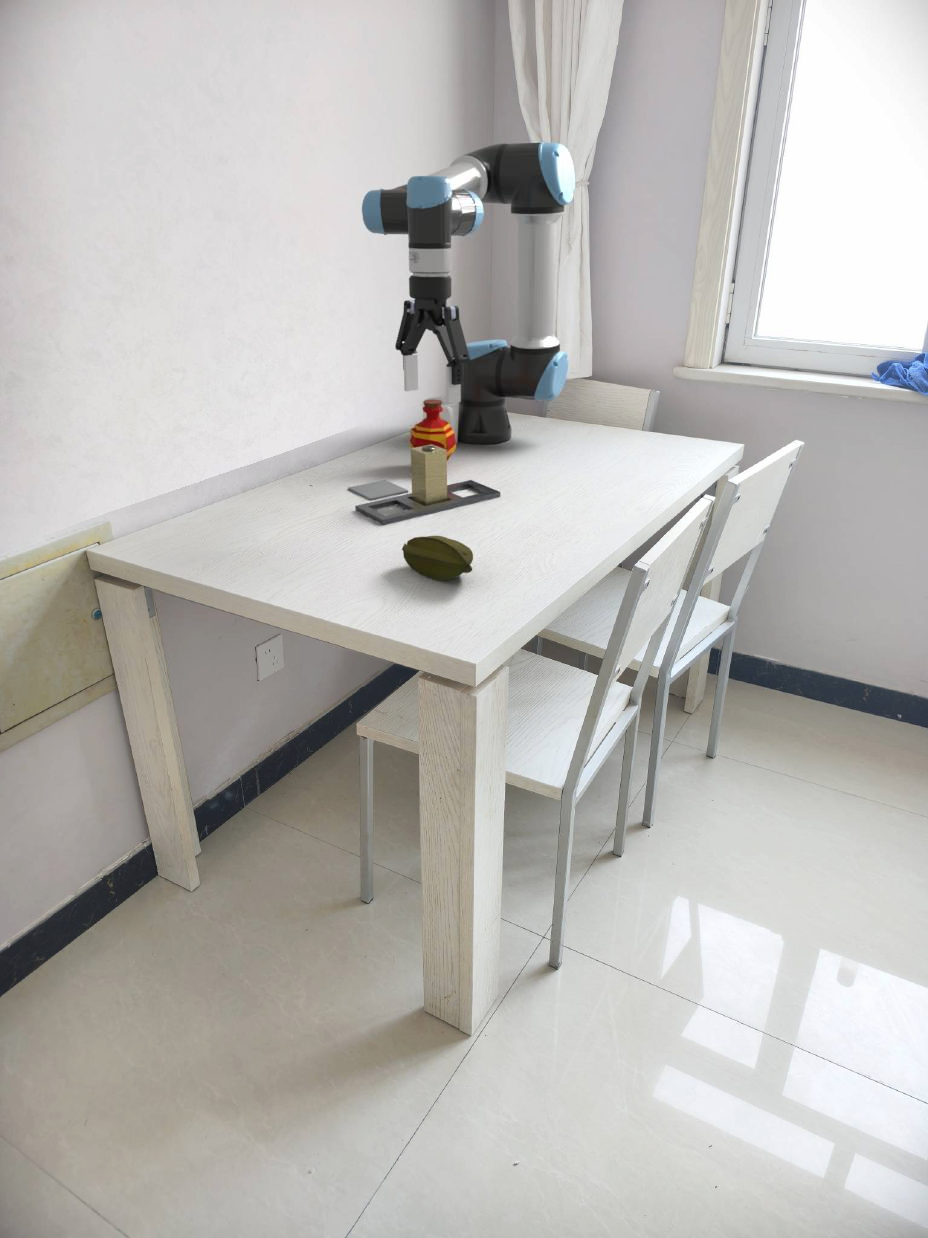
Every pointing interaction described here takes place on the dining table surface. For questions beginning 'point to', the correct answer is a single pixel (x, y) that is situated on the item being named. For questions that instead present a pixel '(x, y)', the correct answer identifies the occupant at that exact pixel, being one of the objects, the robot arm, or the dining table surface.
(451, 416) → the mug
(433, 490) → the brass block with knob
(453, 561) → the fruit
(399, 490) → the pad
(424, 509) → the grey triple frame
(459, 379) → the robot arm
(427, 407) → the potion bottle
